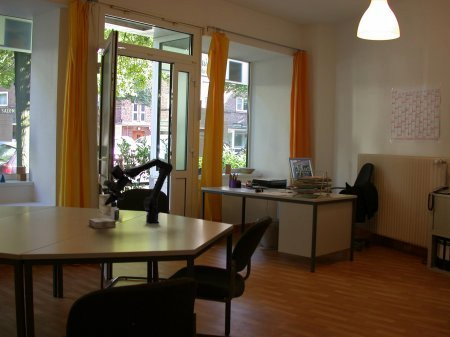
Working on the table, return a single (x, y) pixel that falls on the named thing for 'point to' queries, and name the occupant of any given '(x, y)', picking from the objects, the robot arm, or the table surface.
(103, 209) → the birch block
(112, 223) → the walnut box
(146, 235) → the table surface
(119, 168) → the robot arm
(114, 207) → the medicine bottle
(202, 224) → the table surface
